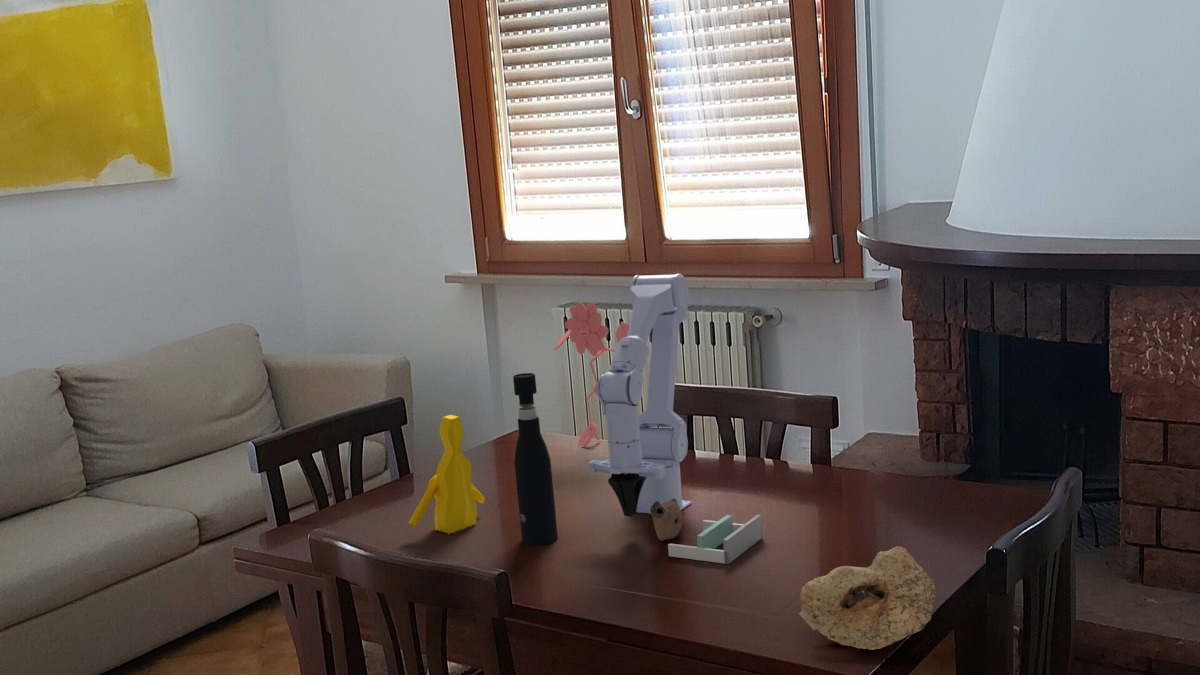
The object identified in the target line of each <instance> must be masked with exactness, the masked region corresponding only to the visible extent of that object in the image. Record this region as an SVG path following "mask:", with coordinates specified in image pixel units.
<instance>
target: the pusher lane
mask: <svg viewBox="0 0 1200 675" xmlns="http://www.w3.org/2000/svg"><path fill="white" fill-rule="evenodd" d="M717 521H718V520H717ZM717 521H716V520H710V519H703V520H702V532H703V531H704V530H706V529H707V528H709V527H710V526H712V525H713V524H714V523H716V522H717ZM732 523H733V533H732V534H730V535H729V536H728V537H726V538H725V539H723V543H722V544H723V546H722V547H723V549H717V548H715V549H710V548H702V547H698V546H694V545H693V546H692V545H687V544H686V545H685V544H676V543H668V544H667V548H668V550H667V551H668V557H673V558H681V559H690V560H696V561H703V562H712V563H719V564H726V565H729V564H730V563H731V564H732V562H733V561H735V560H736V559H737V558H738V557H740V556H741V555H742V554H743V553H745V552H746V551H747V550H748V549H750V548H751V547H753V546H754V545H755V544H756V543H757V542H759V541H760V540H762V539H763V526H762V525H763V524H762V523H763V522H762V514H756V515H755V516H754V517H752V518H751V519H750V520H748V521H747V522H745V523H736V522H732Z"/></svg>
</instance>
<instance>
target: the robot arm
mask: <svg viewBox="0 0 1200 675" xmlns="http://www.w3.org/2000/svg"><path fill="white" fill-rule="evenodd" d="M631 279H632V280H631V281H630V285H629V297H630V302H631V306H632V311H631V312H632V313H631V317H630V321H629V324H628V325H629V329H628V333H627V337H624V338H622V339H621V340H620V341H619V342H618V341H617V345H616V349H615V350H616V351H615V352H614V354H613V357H612V361H611V363H610V366H609V369H608V371H606V372H604V374H601V376H600V377H599V379H598V391H597V393H598V395H597V398H598V401H599V403H600V405H601V412H602V414H603V415H604V416H605V421H606V422H605V426H606V433H607V438H606V439H607V446H608V459H593V460H590V461H589V462H588V472H589V474H595V473H601V474H611V476H610V478H609V477H608V480H607V482H608V484H609V486H610V487H611V488H612V490H613V492H614V494H615V495H616V498H617V499H618V502H619V505H620V507H621V510H622V513H623V516H624V517H629V518H630V517H632V516H634V515H636V514H637V513H642V514H649V515H651V513H650V508H651V506H652V505H653V504H654V503H655V502H656V501H658V502H659V503H660V504H663V503H665V502H667V501H670V500H671V499H674V498H675V499H676V500H677V504H678V506H679V508H680V510H681V511H682V510H684V509H685V508H687V507H688V506H690V505H692V501H691V500H684V499H683V493H682V480H681V479H682V477H681V466H680V463H681V462H682V461H683V460H684V459H685V458H686V455H687V454H688V450H689V449H688V445H689V442H688V440H689V439H688V434H687V430H688V429H687V423H686V421H685V420H684V419H683V418H682V417H680V416H679V414H677V413H676V412H674V403H675V402H674V400H675V399H674V398H675V385H676V373H677V372H676V371H677V357H678V345H679V344H678V341H679V330H680V325H681V323H683V322H684V321H685V320H687V315H688V309H689V296H690V290H689V286H688V281H687V279H686V278H685V276H684V275H683V274H682V273H675V274H654V275H653V274H652V275H651V274H650V275H642V274H637V275H634V276H633V278H631ZM651 333H652V334H651ZM650 334H651V349H650V348H649V346H648V344H647V341H648V338H649V337H650ZM649 354H650V362H649V373H648V374H649V375H648V388H647V390H648V391H647V403H646V409H645V410H644V411H643V412H641V414H639V405H638V404H639V403H640V401H641V400H642V397H643V396H642V395H643V390H644V388H643V384H644V376H643V372H644V369H645V366H646V363H647V360H648V357H649Z"/></svg>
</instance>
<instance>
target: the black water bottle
mask: <svg viewBox="0 0 1200 675" xmlns="http://www.w3.org/2000/svg"><path fill="white" fill-rule="evenodd" d="M512 380H513V381H512V382H513V389H514V395H515V396H518V402H519V403H518V404H519V406H520V407H518V411H517V413H518V419H517V425H518V426H517V427H518V428H517V429H518V437H517V441H516V446H515V451H514V472H515V473H514V474H515V485H516V493H517V503H518V512H519V513H518V514H519V524H520V531H521V532H520V534H521V542H522V544H524V545H526V546H530V545H531V547H534V546H535V547H538V546H539V547H540V546H545V545H550V544H553V543H555V542H556V541H557V540H558V539H559V535H558V525H557V515H556V512H557V511H556V505H555V504H556V502H555V493H554V482H553V472H552V462H551V461H552V460H551V458H550V453H549V449H548V446H547V444H546V442H545V440H544V437H543V435H542V433H541V426H540V424H541V423H540V417H539V416H538V413H537V411H538V409H537V406H534V405H535V402H534V401H535V400H534V399H535V398H534V394H537V392H538V391H537V381H536V374H535V373H533V372H532V373H531V372H526V373H517V374H515V375H513V376H512Z"/></svg>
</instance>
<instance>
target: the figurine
mask: <svg viewBox="0 0 1200 675" xmlns="http://www.w3.org/2000/svg"><path fill="white" fill-rule="evenodd" d="M569 313H570V315H571V317H569V318H568V319H567V320H566V321H565V323H564V326H565V329H567V331H566V332H565V333H564V334H563V335H562V336H561V338H560V339H559V341H558V342H557V344H556V346H555V347H554V348H553V350H554V351H556V350H558V349H559V348H560V347H561V346H562V345H563V344H564V343H565V342H566V341H567V340H568V338H569V339H570V342H572V343H575V347H576V351H577V352H578V354H579V355H584V354H585V351H586V350H587V352H589V354H590V355H592V356H593V358H591V359H590V362H589V366H590V368H591V372H592V375H593V377H594V380H595V383H596V384H595V385H594V386H593V390H592V392H591V393H590V394H589V395H587V396H586V403H587V410H588V419H589V425H588V426H587V427H585V429H584V430H583V432H582V433H581V435H580V437H579V440H578V444H577V446H578V445H579V446H582V447H583V446H584V448H585V447H586V446H587V445H588V444H589V443H590V442H591V441H592V439H593V437H594V436H595V439H596V441H597V440H600V437H599V435H598V434H597V432H596V429H597V425H596V423H595V422H592V416H591V410H590V400H589V398H590V397H591V396H592V395H593V394H595V395H596V396H598V393H597V391H598V382H599V380H598V379H597V375H596V372H595V369H594V368H595V367H594V365H593V363H594V362H595V360H597V359H598V357H599V356H601V355H602V354H603V353H604V352H607V351H609V352H613V353H615V351H616V349H615V348H614V349H613V348H609V347H608V346H607V345H605V343H604V340H603V339H604V338H606V337H607V335H609V332H610V330H609V327H607V326H606V325H604V324H602V321H603V320H602V318H603V317H602V314H601V313H600V312H598V308H597V307H596V304H595V302H594V301H591V300H590V301H589V303H588V304H587V307H586V306H585V305H584V304H583V303H582V302H580V301H577V302H576V303H575V305H571V306H569ZM629 325H630V324H629V323H628V324H627V323H625V321H621V322H620V324H619V325H618V327H617V328H616V332H615V339H616V341H617V343H618V342H619V341H620V340H621V339H622V338H624V337H627V333H628V329H629ZM600 441H601V440H600ZM600 441H597V442H600Z"/></svg>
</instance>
